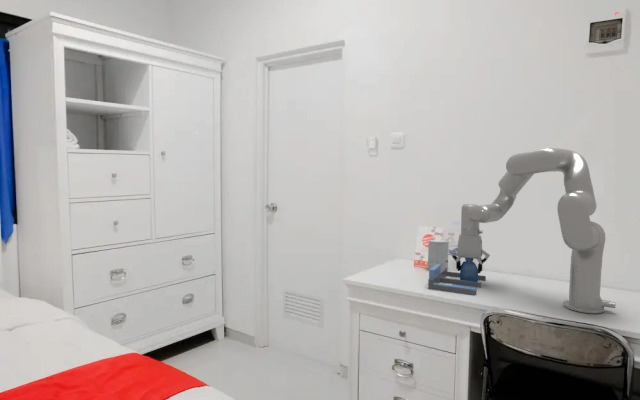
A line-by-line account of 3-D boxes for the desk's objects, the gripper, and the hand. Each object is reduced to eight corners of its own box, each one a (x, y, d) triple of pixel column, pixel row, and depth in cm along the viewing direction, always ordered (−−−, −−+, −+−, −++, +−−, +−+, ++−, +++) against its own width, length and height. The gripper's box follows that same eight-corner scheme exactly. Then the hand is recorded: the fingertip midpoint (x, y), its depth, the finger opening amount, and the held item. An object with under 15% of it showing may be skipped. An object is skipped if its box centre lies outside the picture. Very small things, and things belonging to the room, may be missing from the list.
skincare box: (435, 272, 207) (436, 242, 206) (427, 269, 213) (427, 240, 212) (448, 270, 211) (449, 240, 210) (439, 268, 217) (440, 239, 216)
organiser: (485, 280, 193) (486, 262, 193) (476, 295, 170) (476, 275, 169) (443, 275, 202) (443, 258, 202) (428, 288, 179) (428, 270, 178)
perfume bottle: (474, 280, 193) (474, 253, 192) (477, 283, 187) (478, 256, 186) (460, 279, 193) (460, 253, 193) (463, 283, 187) (463, 256, 186)
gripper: (492, 232, 188) (491, 272, 189) (451, 230, 196) (450, 267, 197) (489, 234, 181) (488, 275, 182) (447, 232, 189) (447, 271, 191)
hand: (469, 271), depth 190 cm, fingers closed on perfume bottle, 8 cm apart
